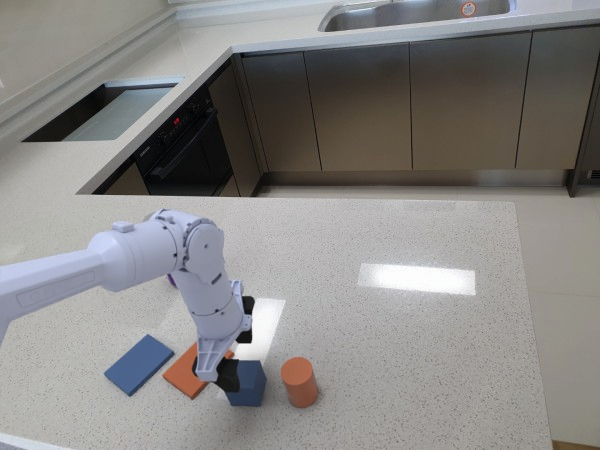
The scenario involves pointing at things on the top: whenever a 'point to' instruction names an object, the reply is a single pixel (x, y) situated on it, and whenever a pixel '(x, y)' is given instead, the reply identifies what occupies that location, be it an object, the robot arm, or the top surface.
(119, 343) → the top surface
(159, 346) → the blue mat
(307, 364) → the terracotta cylinder
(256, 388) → the blue cube
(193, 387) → the terracotta mat
